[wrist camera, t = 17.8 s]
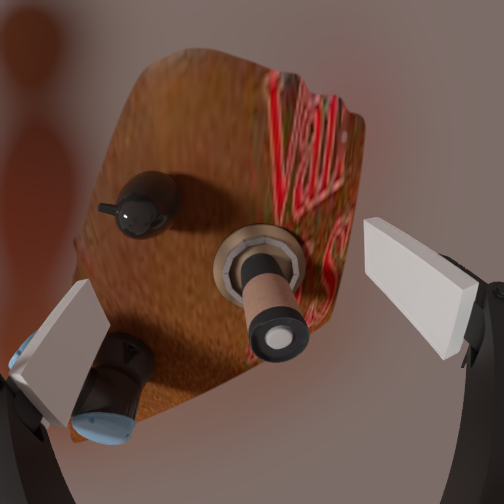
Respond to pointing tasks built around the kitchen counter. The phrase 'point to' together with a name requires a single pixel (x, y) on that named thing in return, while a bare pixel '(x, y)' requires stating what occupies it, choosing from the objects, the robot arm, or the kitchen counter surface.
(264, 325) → the travel mug
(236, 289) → the carrier plate
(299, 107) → the kitchen counter surface
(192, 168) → the kitchen counter surface
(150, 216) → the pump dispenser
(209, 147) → the kitchen counter surface
